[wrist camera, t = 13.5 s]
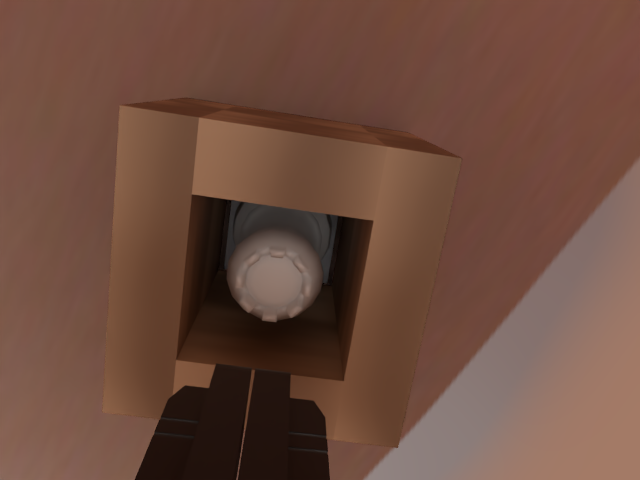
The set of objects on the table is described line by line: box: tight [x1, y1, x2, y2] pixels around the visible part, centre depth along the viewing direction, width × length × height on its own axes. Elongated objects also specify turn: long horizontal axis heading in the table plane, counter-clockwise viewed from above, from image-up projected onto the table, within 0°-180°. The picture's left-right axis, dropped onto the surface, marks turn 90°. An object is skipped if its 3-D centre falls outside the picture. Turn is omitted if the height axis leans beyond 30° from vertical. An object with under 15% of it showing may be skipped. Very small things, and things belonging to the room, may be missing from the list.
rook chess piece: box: [226, 201, 332, 322], centre depth 22 cm, size 4×4×8 cm
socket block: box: [102, 98, 462, 448], centre depth 22 cm, size 10×10×9 cm
